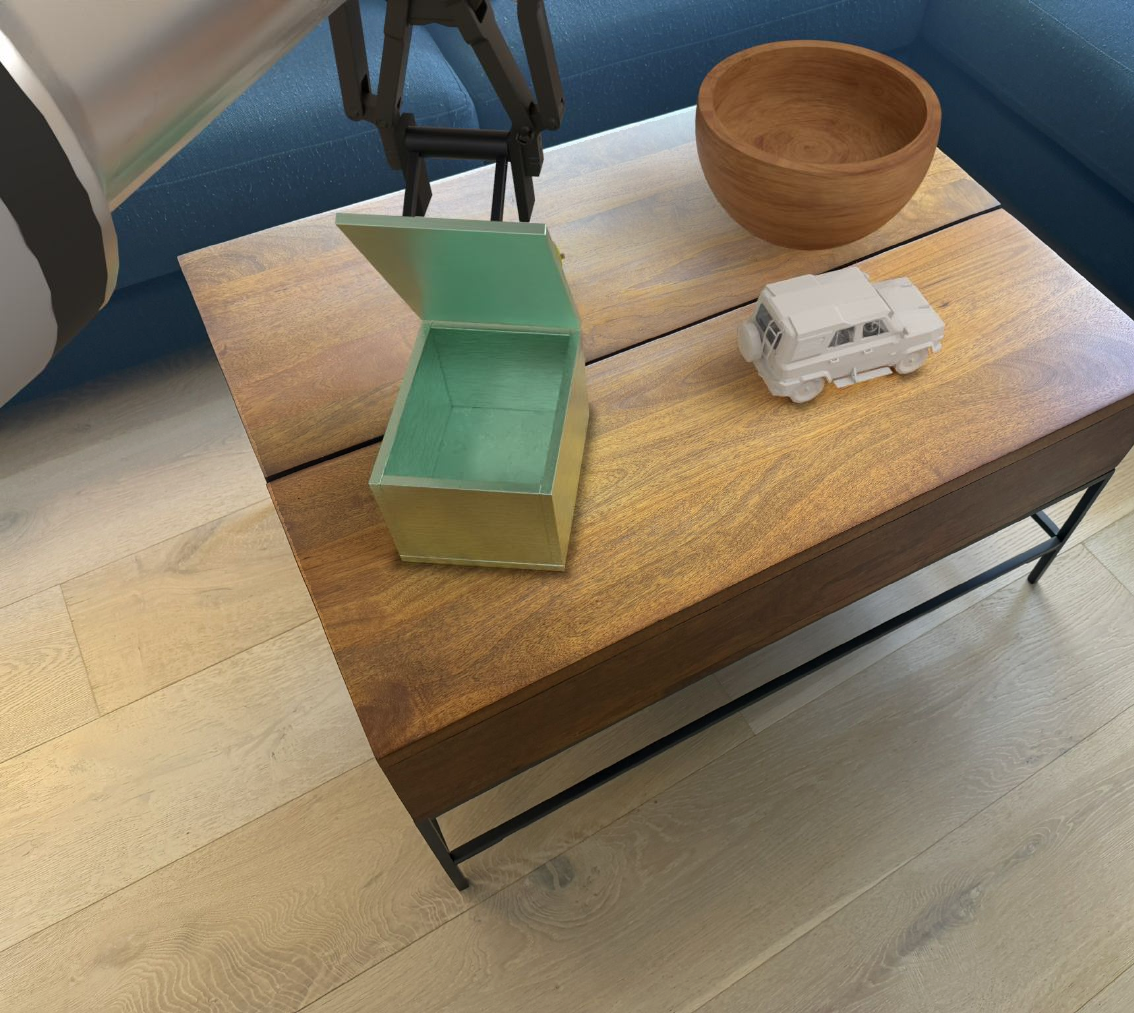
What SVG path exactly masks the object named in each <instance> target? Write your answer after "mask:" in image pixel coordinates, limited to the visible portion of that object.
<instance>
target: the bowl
mask: <svg viewBox="0 0 1134 1013" xmlns="http://www.w3.org/2000/svg"><path fill="white" fill-rule="evenodd" d="M696 100H697V101H696V106H695V107H696V108H695V117H694V118H695V119H694V135H695V145H696V151H697V156H698V160H699V164H700V167H701V170H702V173H703V176H704V178H705V180H706V183H707V185H708V187H709V189H710V191H711V193H712V194H713V196H714V198H715V199H716V201H717V203H718V204H719V205H720V206H721V207H722V208H723V210H724V211H725V212H726V213H727V215H728V216H729V217H730V218H732V220H734V222H736V223H737V225H739V226H740V227H742V228H743V229H744V230H745V231H747V232H749V233H750V234H752V235H754V236H755V237H757V238H759V239H760V240H763V241H765V242H767V243H770V244H773V245H776V246H779V247H781V248H782V247H783V248H786V249H791V250H799V251H822V250H830V249H835V248H839V247H843V246H846V245H849V244H852V243H855V242H857V241H860V240H862V239H864V238H866V237H868V236H870V235H871V234H873V233H875V232H876V231H878V230H879V229H881V228H882V227H884V226H886V225H887V223H889V222H890V221H892V220H893V219H894V218H895V217H896V216H897V215H898V214H899V213H900V212H901V211H902V210H903V209H904V208H905V207H906V205H907V204H908V203H909V202H910V201H911V199H912V198H913V197H914V195H915V194H916V192H917V191H918V190H919V188H920V186H921V185H922V183H923V181H924V179H925V177H926V176H927V173H928V172H929V169H930V167H931V165H932V162H933V160H934V156H935V153H936V150H937V146H938V142H939V139H940V138H939V137H940V134H941V126H942V108H941V104H940V101H939V97H938V95H937V94H936V91H934V89H933V88H932V87H931V85H930V84H929V83H928V82H927V80H925V79H924V78H923V77H922V76H921V75H920V74H918V73H917V72H916V71H915V70H913V69H912V68H910V67H909V66H907V65H906V64H904V63H902V62H901V61H898V60H897V59H894V58H893V57H890V56H888V55H886V54H883V53H881V52H878V51H875V50H872V49H869V48H866V47H863V46H859V45H853V44H849V43H843V42H837V41H830V40H820V39H819V40H816V39H794V40H782V41H774V42H769V43H763V44H759V45H756V46H752V47H749V48H746V49H743V50H741V51H738V52H736V53H734V54H732V55H730V56H728V57H726V58H725V59H723V60H721V61H720V62H718V63H717V64H716V65H714V67H713V68H712V69H711V70H710V71H709V72H708V73H707V75H706V76H705V77H704V79H703V80H702V82H701V84H700V87H699V91H698V96H697V99H696Z"/></svg>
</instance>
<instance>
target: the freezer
mask: <svg viewBox="0 0 1134 1013" xmlns="http://www.w3.org/2000/svg"><path fill="white" fill-rule="evenodd" d="M584 348H585V347H584V338H583V329H582V328H581V329H575V328H557V327H539V326H521V325H504V324H486V323H468V322H450V321H432V320H421V324H420V328H419V330H418V333H417V336H416V339H415V342H414V345H413V349H412V352H411V354H410V357H409V360H408V363H407V367H406V369H405V372H404V375H403V378H402V381H401V384H400V387H399V390H398V393H397V395H396V400H395V402H394V404H393V408H392V411H391V414H390V417H389V419H388V423H387V426H386V429H385V431H384V434H383V438H382V440H381V445H380V447H379V450H378V453H377V457H376V458H375V462H374V465H373V468H372V470H371V473H370V477H369V481H368V486H369V488H370V492H371V493H372V495H373V497H374V500H375V502H376V504H377V507H378V509H379V511H380V513H381V516H382V518H383V520H384V523H385V525H386V527H387V530H388V532H389V534H390V537H391V539H392V542H393V543H394V546H395V549H396V550H397V553H398V555H399V558H400V559H401V562H410V563H423V564H424V563H425V564H442V565H457V566H470V567H471V566H472V567H473V566H474V567H487V568H502V569H503V568H504V569H518V570H519V569H521V570H535V571H551V572H565V569H566V564H567V563H566V562H567V556H568V552H569V551H568V550H569V544H570V537H571V531H572V526H573V520H574V512H575V507H576V500H577V494H578V488H579V481H580V475H581V469H582V463H583V456H584V451H585V445H586V439H587V438H586V437H587V434H588V427H589V419H590V403H589V402H590V401H589V393H588V392H589V391H588V382H587V381H588V380H587V371H586V361H585V360H586V359H585V350H584Z"/></svg>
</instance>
